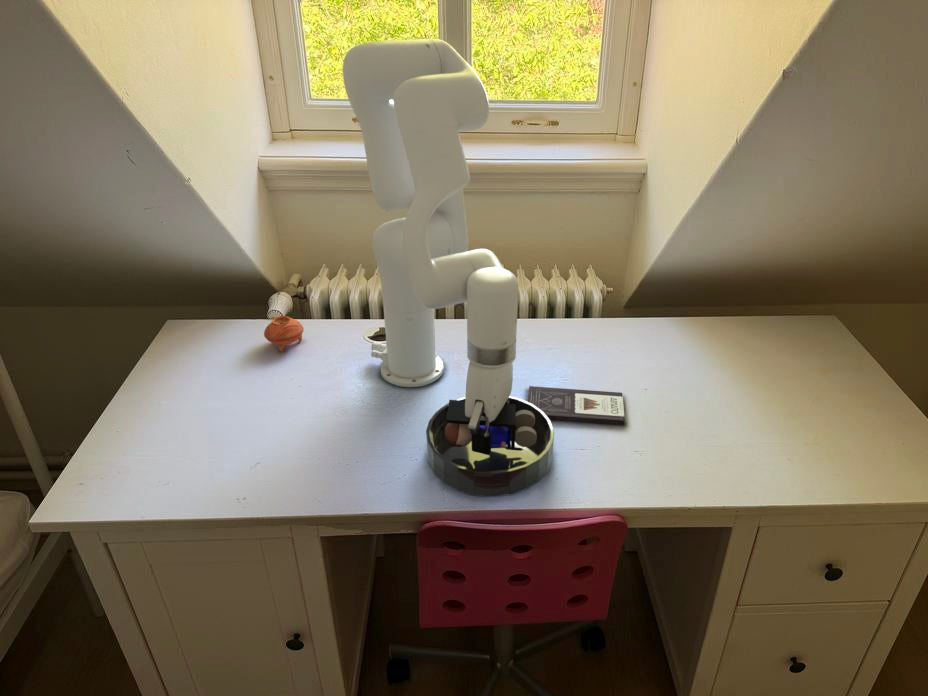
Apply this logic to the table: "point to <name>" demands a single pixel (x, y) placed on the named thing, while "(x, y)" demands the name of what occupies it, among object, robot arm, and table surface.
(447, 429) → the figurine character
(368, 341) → the table surface
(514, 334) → the robot arm
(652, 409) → the table surface
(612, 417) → the chocolate bar
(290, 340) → the pot
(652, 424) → the table surface
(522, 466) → the bowl
